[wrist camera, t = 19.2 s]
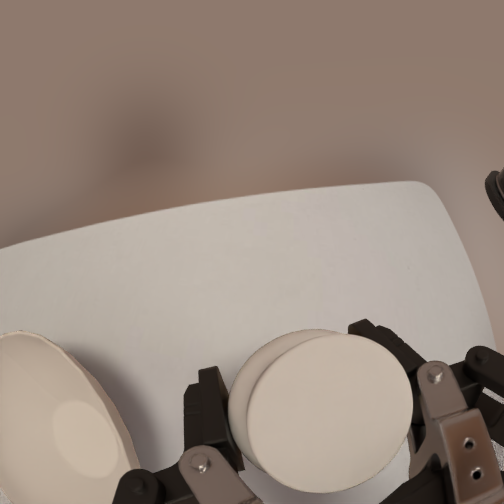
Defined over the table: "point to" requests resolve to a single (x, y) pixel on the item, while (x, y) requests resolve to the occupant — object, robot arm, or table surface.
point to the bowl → (57, 427)
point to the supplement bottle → (320, 409)
